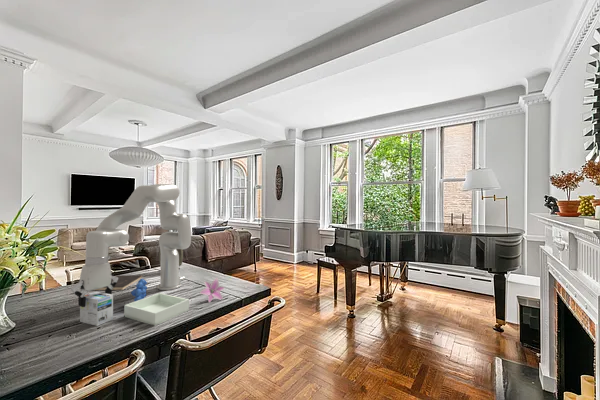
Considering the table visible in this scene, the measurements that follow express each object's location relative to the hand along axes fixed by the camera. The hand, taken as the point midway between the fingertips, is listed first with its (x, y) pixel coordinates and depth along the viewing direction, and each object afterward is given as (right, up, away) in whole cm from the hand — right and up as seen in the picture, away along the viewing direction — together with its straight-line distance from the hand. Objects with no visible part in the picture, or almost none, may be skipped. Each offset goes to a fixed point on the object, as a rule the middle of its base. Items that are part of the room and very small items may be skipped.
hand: (95, 302), depth 112 cm
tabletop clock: (-5, -8, +76) cm, 77 cm away
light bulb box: (0, -8, +1) cm, 8 cm away
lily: (+40, -9, +26) cm, 48 cm away
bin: (+21, -8, +8) cm, 24 cm away
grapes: (+7, -8, +18) cm, 21 cm away
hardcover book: (-23, -8, +49) cm, 55 cm away
